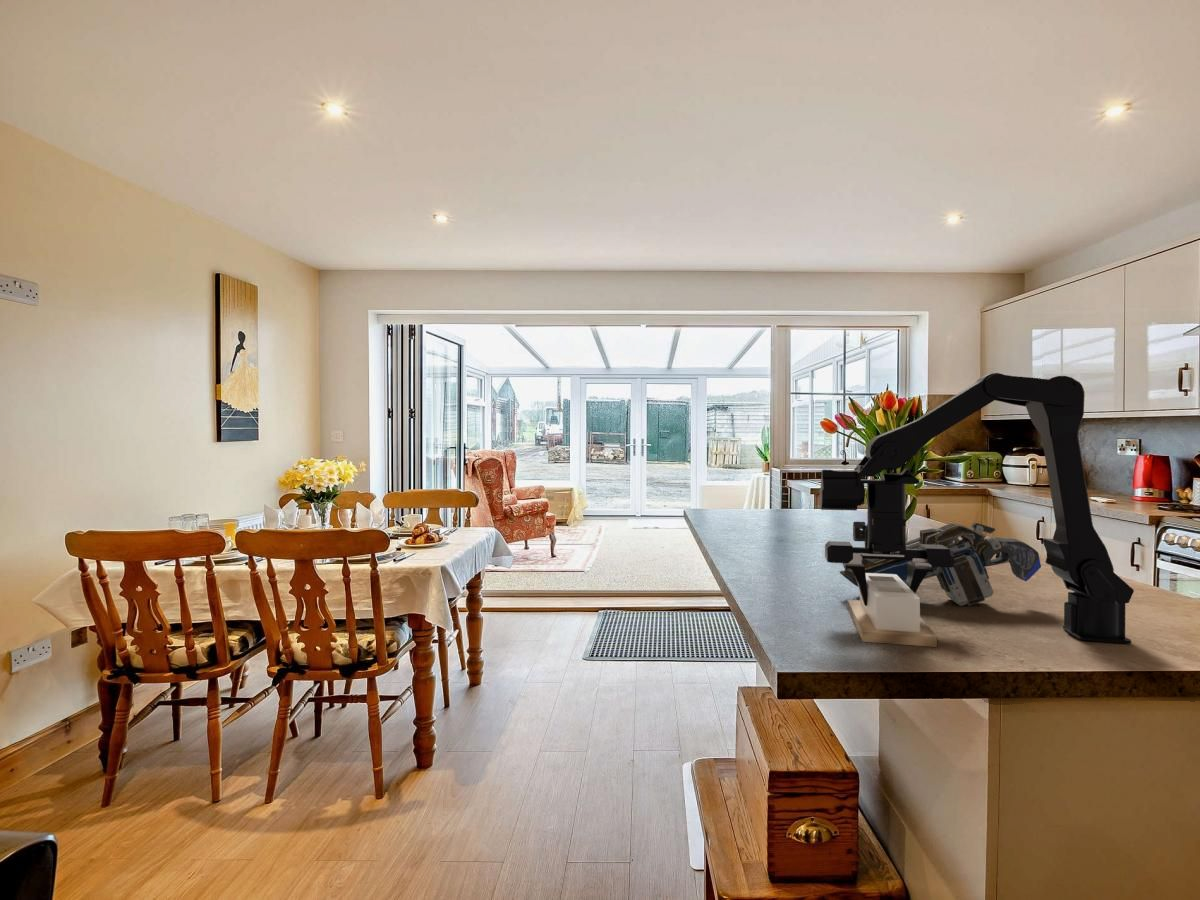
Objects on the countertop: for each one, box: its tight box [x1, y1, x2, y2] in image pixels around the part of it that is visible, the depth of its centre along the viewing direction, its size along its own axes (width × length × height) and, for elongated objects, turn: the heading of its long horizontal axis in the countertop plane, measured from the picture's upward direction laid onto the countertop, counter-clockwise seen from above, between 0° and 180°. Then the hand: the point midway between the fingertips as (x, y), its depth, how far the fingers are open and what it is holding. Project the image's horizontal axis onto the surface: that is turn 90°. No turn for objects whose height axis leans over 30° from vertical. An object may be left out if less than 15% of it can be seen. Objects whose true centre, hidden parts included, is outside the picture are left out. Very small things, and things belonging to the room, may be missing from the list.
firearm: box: [839, 521, 1042, 607], centre depth 118 cm, size 8×33×15 cm, turn 78°
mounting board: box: [846, 599, 938, 648], centre depth 103 cm, size 10×20×5 cm, turn 165°
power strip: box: [859, 573, 921, 632], centre depth 103 cm, size 18×6×5 cm, turn 165°
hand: (886, 606), depth 104 cm, fingers closed on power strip, 6 cm apart
